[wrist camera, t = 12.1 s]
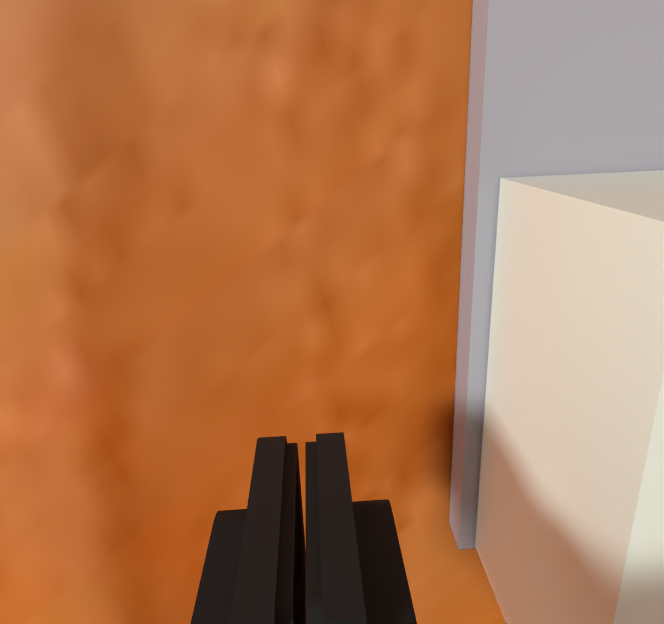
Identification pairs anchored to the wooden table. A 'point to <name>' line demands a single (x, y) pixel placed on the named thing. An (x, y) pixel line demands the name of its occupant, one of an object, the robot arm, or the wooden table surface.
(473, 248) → the base board
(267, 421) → the wooden table surface
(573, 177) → the housing cover
